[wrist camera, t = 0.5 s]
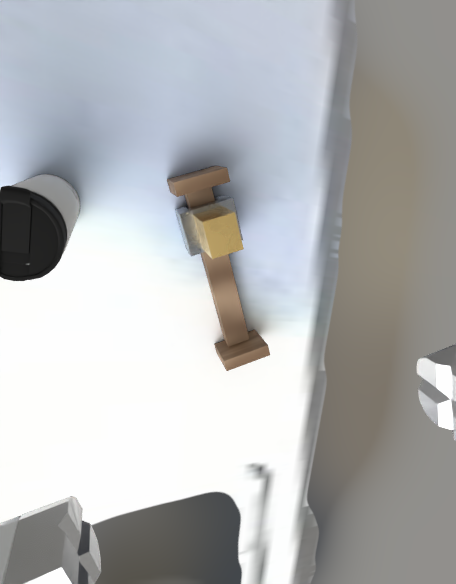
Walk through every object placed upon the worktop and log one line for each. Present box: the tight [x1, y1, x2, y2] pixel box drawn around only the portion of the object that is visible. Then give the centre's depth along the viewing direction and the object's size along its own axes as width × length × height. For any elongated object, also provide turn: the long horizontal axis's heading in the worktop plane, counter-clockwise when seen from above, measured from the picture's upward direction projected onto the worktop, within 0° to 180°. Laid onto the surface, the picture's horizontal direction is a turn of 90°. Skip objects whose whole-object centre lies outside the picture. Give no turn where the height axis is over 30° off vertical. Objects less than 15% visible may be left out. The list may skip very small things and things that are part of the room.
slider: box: [175, 195, 243, 259], centre depth 46 cm, size 5×6×9 cm
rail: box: [167, 166, 270, 371], centre depth 50 cm, size 24×6×5 cm, turn 14°
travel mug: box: [0, 174, 80, 281], centre depth 36 cm, size 6×7×20 cm
